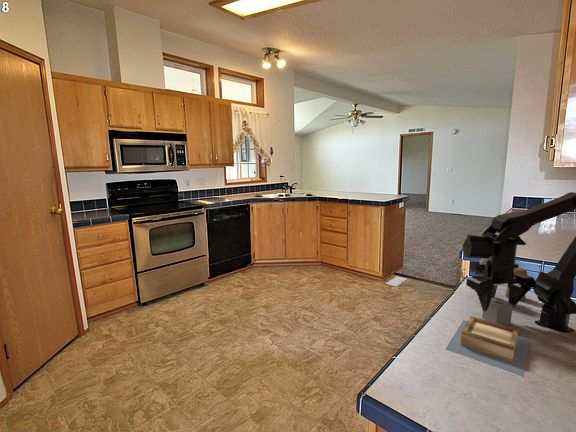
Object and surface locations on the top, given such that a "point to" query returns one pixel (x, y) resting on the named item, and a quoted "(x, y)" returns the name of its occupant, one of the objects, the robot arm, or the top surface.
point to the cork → (517, 270)
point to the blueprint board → (514, 366)
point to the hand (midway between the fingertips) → (497, 309)
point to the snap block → (498, 312)
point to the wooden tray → (490, 338)
